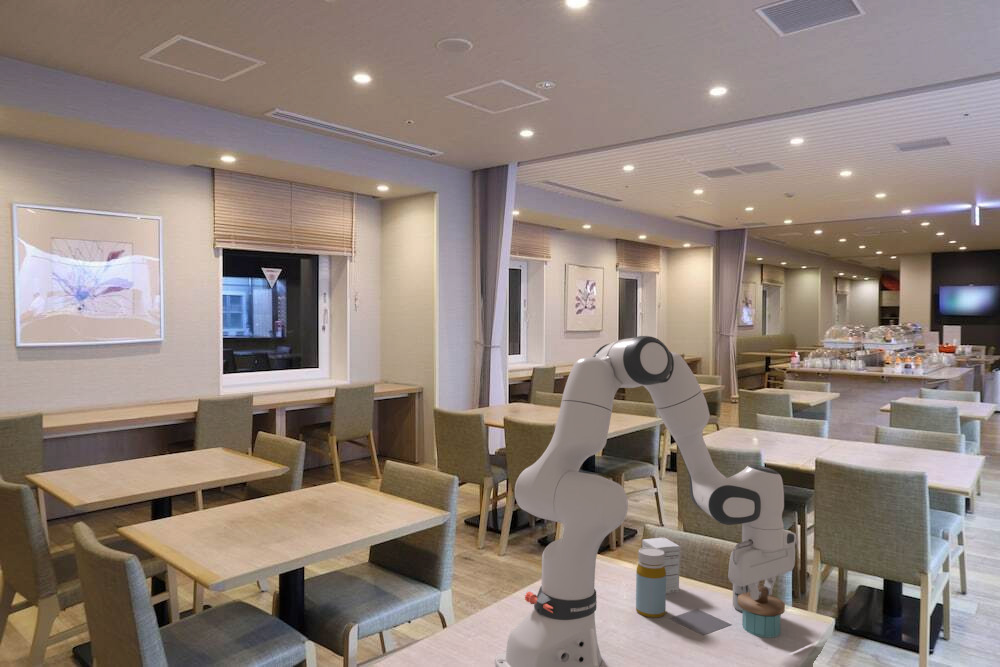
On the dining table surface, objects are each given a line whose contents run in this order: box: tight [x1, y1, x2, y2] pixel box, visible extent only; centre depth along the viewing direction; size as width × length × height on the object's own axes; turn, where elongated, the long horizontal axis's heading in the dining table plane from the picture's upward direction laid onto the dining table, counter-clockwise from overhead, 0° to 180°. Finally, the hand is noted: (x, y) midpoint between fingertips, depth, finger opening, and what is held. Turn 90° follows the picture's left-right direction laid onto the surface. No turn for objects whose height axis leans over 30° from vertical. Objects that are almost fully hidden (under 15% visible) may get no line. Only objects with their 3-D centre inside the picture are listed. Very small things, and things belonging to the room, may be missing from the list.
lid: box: [738, 585, 786, 616], centre depth 149 cm, size 10×10×4 cm
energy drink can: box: [732, 547, 760, 613], centre depth 159 cm, size 6×6×15 cm
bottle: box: [635, 547, 667, 619], centre depth 157 cm, size 7×7×15 cm
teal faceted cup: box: [741, 609, 782, 638], centre depth 149 cm, size 8×8×5 cm
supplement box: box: [641, 537, 681, 594], centre depth 172 cm, size 7×7×13 cm
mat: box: [668, 608, 732, 636], centre depth 152 cm, size 10×10×1 cm
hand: (761, 596), depth 149 cm, fingers closed on lid, 3 cm apart
